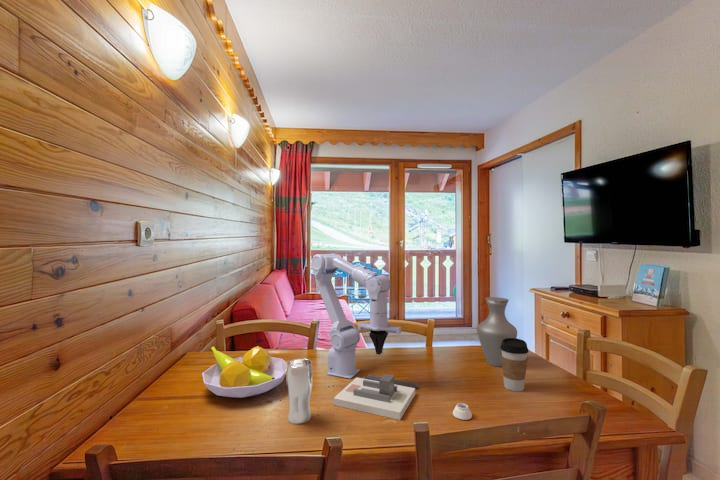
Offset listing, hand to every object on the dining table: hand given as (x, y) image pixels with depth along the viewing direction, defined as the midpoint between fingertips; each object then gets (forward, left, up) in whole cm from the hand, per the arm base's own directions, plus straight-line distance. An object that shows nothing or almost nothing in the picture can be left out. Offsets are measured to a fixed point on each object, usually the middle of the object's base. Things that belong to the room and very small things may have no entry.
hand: (379, 353), depth 113 cm
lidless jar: (+28, -9, -11) cm, 31 cm away
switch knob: (+6, -10, -8) cm, 14 cm away
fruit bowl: (-39, -19, -11) cm, 45 cm away
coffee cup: (+41, +16, -11) cm, 45 cm away
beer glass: (-12, -28, -11) cm, 32 cm away
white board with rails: (+3, -7, -10) cm, 13 cm away
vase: (+35, +36, -11) cm, 51 cm away
